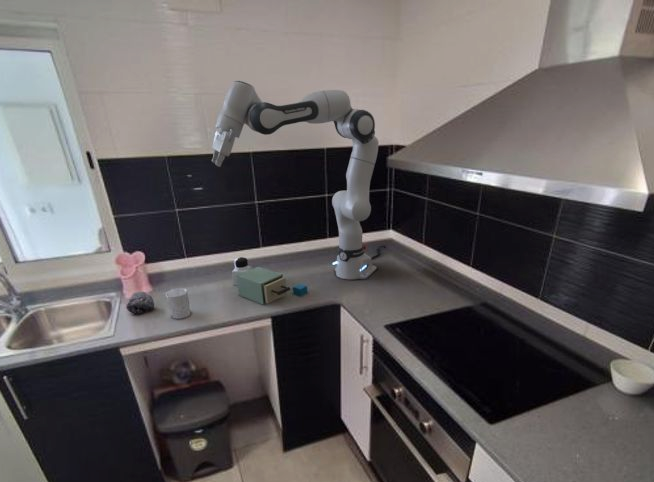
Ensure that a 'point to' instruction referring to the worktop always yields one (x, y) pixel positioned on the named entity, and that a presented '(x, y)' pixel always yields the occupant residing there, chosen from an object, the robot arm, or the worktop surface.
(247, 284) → the drawer cabinet
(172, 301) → the white cup
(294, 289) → the blue cube
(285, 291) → the drawer with handle
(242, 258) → the astronaut figurine
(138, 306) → the pumice stone
